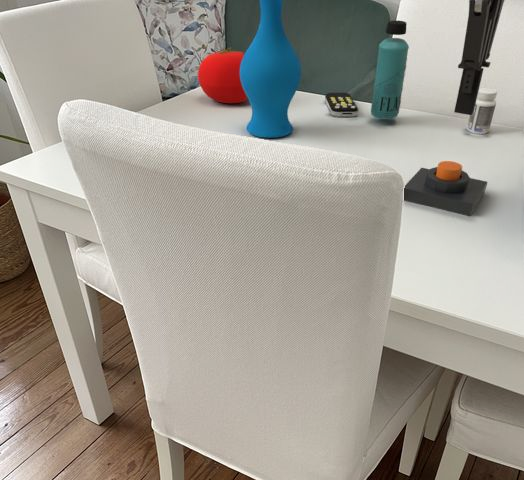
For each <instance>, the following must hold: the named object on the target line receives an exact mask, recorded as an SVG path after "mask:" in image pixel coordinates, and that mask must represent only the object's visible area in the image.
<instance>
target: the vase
mask: <svg viewBox="0 0 524 480" xmlns="http://www.w3.org/2000/svg"><path fill="white" fill-rule="evenodd" d="M283 4H284V0H259V6H260V21H259V26H258V29H257V31H256V34H255V37H254V38H253V40H252V42H251V44H250V45H249V47H248V48H247V49H246V51H245V52H244V56H243V59H242V61H241V65H240V80H241V84H242V87H243V89H244V91H245V93H246V95H247V97H248V98H247V100H248V101H249V104H250V107H251V117H250V121H249V122H248V123H247V124H246V127H245V130H246V131H247V133H249V134H250V135H252V136H255V137H258V138H263V139H265V138H266V139H276V138H282V137H286V136H288V135H290V134H291V133H292V132H293V131H294V127H293V124H292V123H291V121H290V120H289V115H288V113H289V112H288V111H289V107H290V105H291V102H292V100H293V98H294V96H295V94H296V92H297V90H298V88H299V86H300V82H301V78H302V66H301V62H300V59H299V57H298V55H297V52H296V51H295V49H294V47H293V46H292V45H291V43H290V40H289V39H288V37H287V35H286V33H285V32H286V31H285V30H284V26H283V20H282V19H283V18H282V10H283Z"/></svg>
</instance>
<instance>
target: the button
mask: <svg viewBox="0 0 524 480" xmlns="http://www.w3.org/2000/svg"><path fill="white" fill-rule="evenodd" d="M436 167H437V172H436V177H438V178H440V179H444V180H453V181H455V180H459V179H460V175H461V171H463V165H462V164H461V163H459V162H456V161H453V160H443V161H440V162H438V164H437V166H436Z"/></svg>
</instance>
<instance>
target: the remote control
mask: <svg viewBox="0 0 524 480" xmlns="http://www.w3.org/2000/svg"><path fill="white" fill-rule="evenodd" d="M324 101H325V103H326V105H327V108H328V110H329V112H330V114H331V115H332V116H333V117H335V118H346V117H347V118H349V117H350V118H351V117H355V116H357V115H358V114H359V107H358V106H357V105H356V103H355V100H354V99H353V98H352V96H351V94H350V93H348V92H328V93H325V96H324Z"/></svg>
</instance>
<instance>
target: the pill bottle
mask: <svg viewBox="0 0 524 480" xmlns="http://www.w3.org/2000/svg"><path fill="white" fill-rule="evenodd" d="M497 95H498V90H496V89H494V88H492V87H479V91H478V95H477V99H476V104H475V108H474V112H473V114H472V115H469V117H468V122H467V125H466V130H467V131H468V132H470V133H472V134H474V135H475V134H476V135H485V134H487V133H489V132H490V129H491V125H492V121H493V117H494V113H495V109H496V105H497V100H496V98H497Z"/></svg>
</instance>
